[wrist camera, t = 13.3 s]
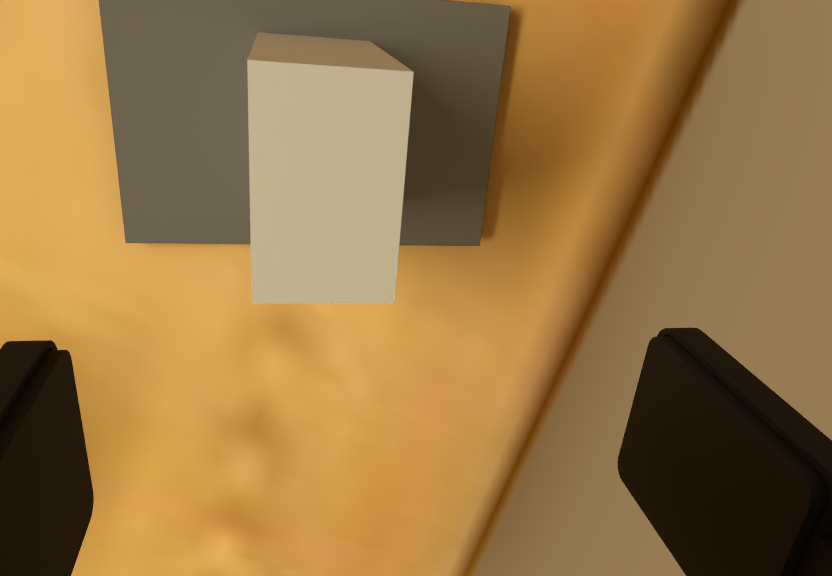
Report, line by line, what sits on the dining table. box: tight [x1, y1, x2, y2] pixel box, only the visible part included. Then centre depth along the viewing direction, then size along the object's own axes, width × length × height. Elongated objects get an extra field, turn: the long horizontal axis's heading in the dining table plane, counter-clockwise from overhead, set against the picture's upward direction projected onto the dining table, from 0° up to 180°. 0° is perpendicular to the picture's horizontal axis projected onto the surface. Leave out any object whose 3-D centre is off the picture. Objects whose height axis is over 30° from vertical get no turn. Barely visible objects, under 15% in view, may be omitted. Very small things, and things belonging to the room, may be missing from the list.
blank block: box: [247, 32, 414, 304], centre depth 26 cm, size 8×5×11 cm, turn 175°
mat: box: [99, 0, 511, 246], centre depth 32 cm, size 12×18×1 cm, turn 85°
